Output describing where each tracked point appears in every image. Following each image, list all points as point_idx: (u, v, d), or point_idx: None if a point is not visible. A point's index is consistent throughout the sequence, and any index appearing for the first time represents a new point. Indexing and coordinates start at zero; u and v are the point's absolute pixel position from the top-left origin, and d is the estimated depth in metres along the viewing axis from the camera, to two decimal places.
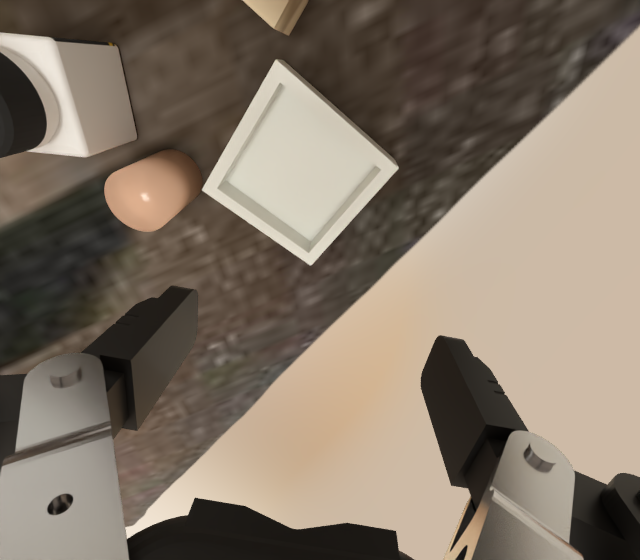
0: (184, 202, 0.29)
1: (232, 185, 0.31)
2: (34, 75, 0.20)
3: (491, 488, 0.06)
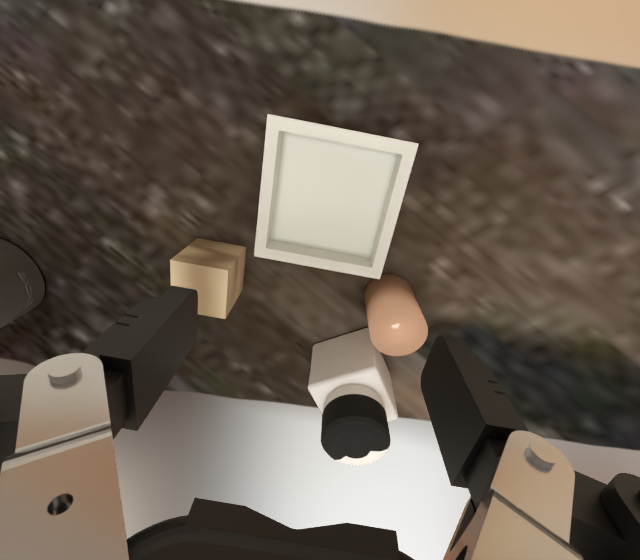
0: (395, 291, 0.30)
1: (371, 251, 0.32)
2: (328, 398, 0.31)
3: (491, 488, 0.06)
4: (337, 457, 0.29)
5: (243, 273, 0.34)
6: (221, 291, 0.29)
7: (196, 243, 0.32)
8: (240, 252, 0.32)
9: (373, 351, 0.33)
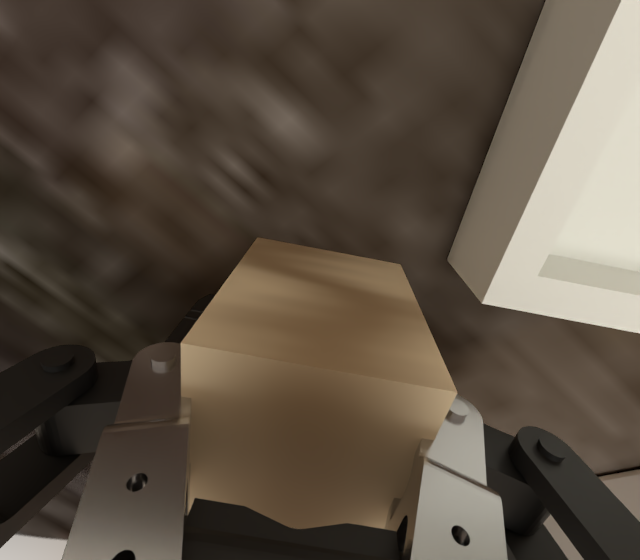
0: None
1: None
2: None
3: (420, 454, 0.06)
4: None
5: None
6: (397, 465, 0.07)
7: (261, 255, 0.10)
8: (405, 284, 0.10)
9: None
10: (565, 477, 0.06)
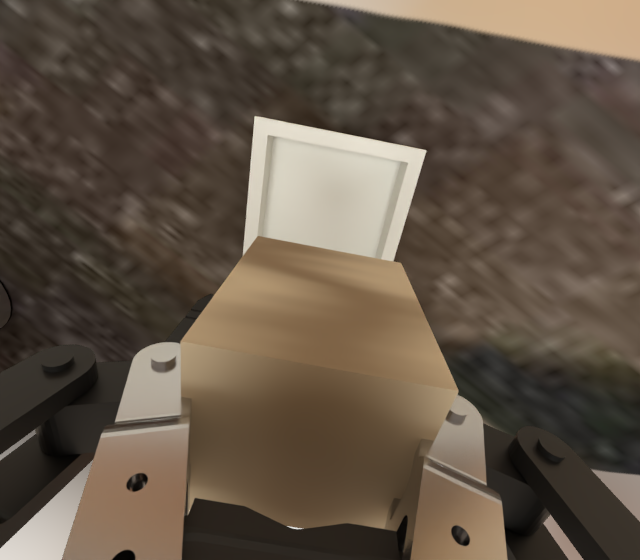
0: None
1: None
2: None
3: (420, 454, 0.06)
4: None
5: None
6: (398, 464, 0.07)
7: (261, 253, 0.10)
8: (406, 283, 0.10)
9: None
10: (565, 477, 0.06)
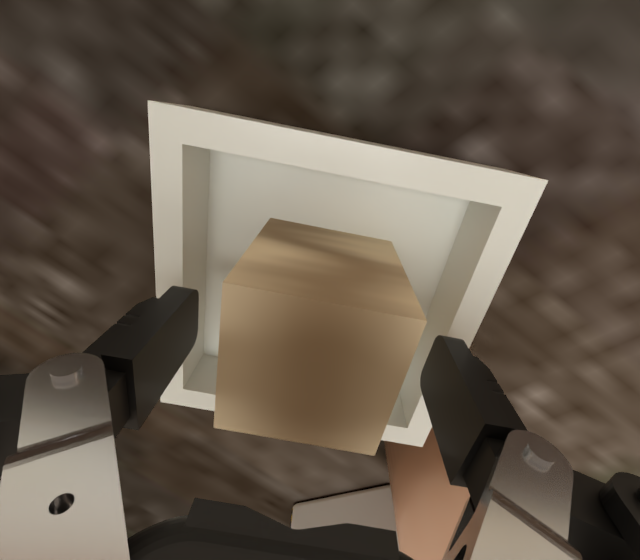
0: None
1: None
2: None
3: (490, 487, 0.06)
4: None
5: None
6: (383, 384, 0.09)
7: (275, 230, 0.12)
8: (394, 255, 0.12)
9: None
10: None
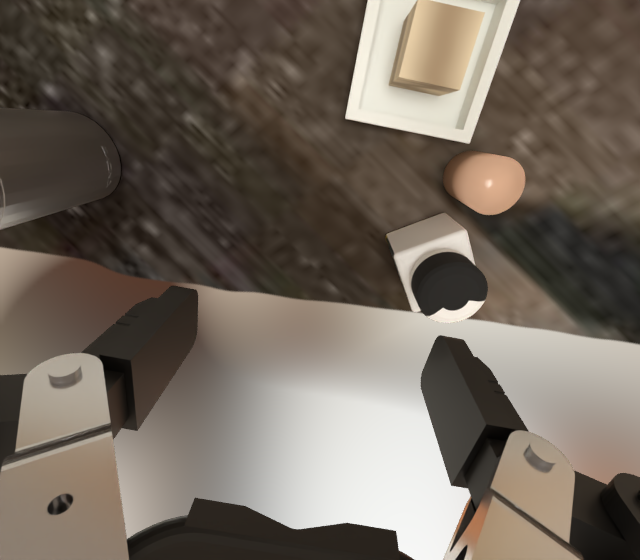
0: (486, 153, 0.30)
1: (457, 121, 0.32)
2: (418, 261, 0.31)
3: (491, 488, 0.06)
4: (433, 310, 0.29)
5: None
6: (467, 46, 0.25)
7: None
8: None
9: (457, 223, 0.33)
10: None
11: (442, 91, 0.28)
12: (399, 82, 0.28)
